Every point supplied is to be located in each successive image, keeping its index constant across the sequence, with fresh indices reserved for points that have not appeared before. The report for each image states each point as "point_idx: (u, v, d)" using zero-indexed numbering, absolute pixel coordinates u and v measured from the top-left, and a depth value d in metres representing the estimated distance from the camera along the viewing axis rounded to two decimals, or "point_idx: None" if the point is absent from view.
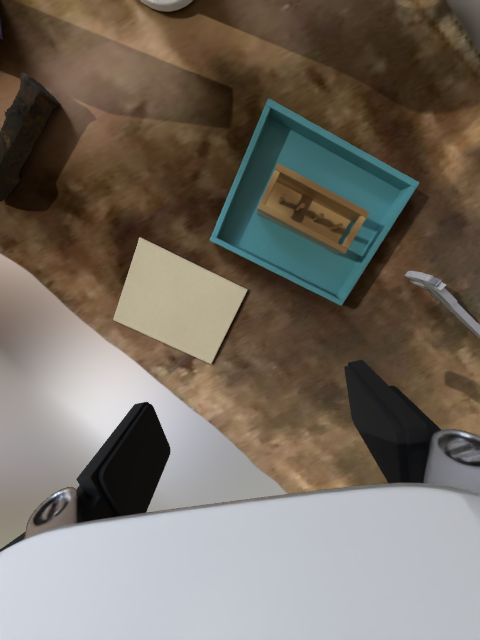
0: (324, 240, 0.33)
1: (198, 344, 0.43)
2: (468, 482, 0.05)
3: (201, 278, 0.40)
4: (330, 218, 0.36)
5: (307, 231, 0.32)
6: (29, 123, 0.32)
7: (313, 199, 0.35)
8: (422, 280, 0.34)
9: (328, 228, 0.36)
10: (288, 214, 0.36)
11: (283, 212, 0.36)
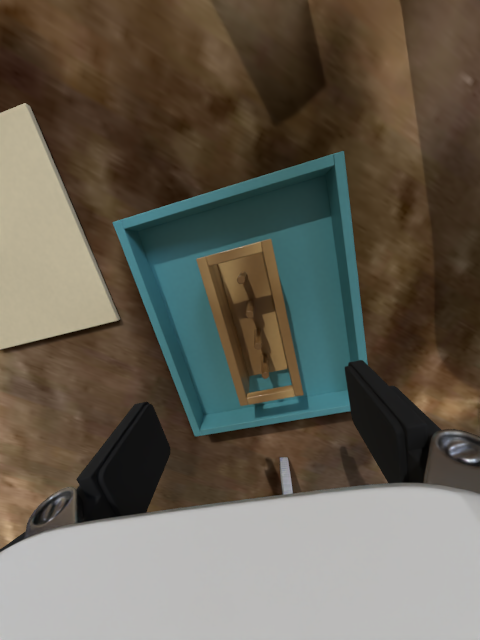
0: (233, 374, 0.21)
1: None
2: (468, 482, 0.05)
3: (71, 250, 0.23)
4: (272, 346, 0.25)
5: (225, 346, 0.20)
6: None
7: (275, 312, 0.23)
8: (283, 490, 0.26)
9: (261, 353, 0.25)
10: (238, 296, 0.23)
11: (235, 289, 0.23)
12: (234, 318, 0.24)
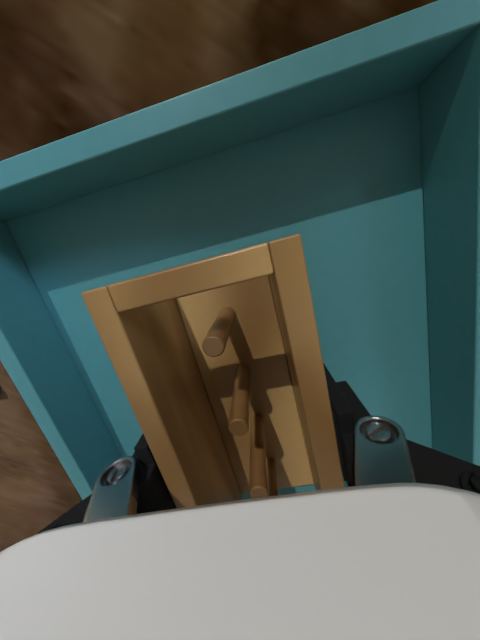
0: None
1: None
2: (385, 459, 0.06)
3: None
4: (286, 447, 0.13)
5: (179, 500, 0.08)
6: None
7: (294, 391, 0.11)
8: None
9: None
10: (217, 356, 0.11)
11: None
12: (211, 396, 0.12)
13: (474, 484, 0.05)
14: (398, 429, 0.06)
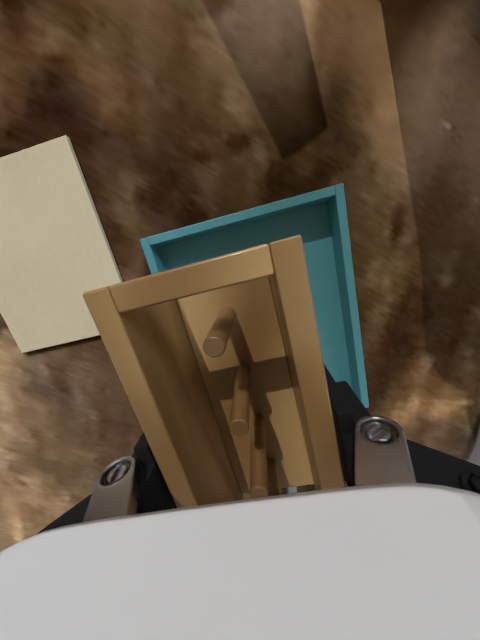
0: None
1: (26, 321, 0.28)
2: (385, 459, 0.06)
3: (98, 262, 0.26)
4: (286, 447, 0.13)
5: (180, 500, 0.08)
6: None
7: (294, 391, 0.11)
8: None
9: None
10: (217, 356, 0.11)
11: None
12: (211, 396, 0.12)
13: (474, 484, 0.05)
14: (398, 429, 0.06)
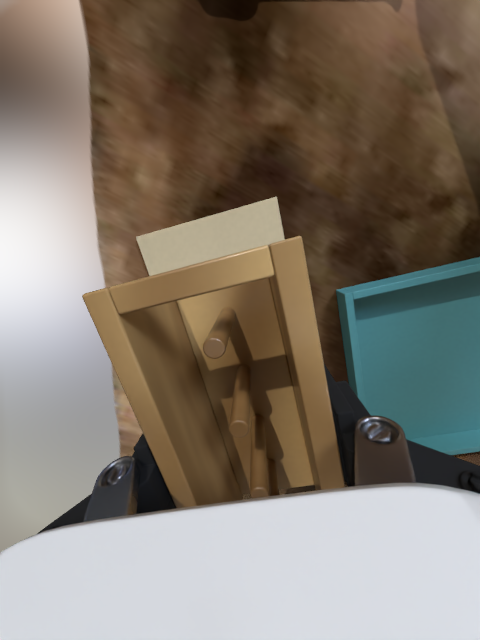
0: None
1: None
2: (385, 459, 0.06)
3: None
4: (286, 447, 0.13)
5: (180, 501, 0.08)
6: None
7: (294, 392, 0.11)
8: None
9: None
10: None
11: None
12: (211, 397, 0.12)
13: (475, 484, 0.05)
14: (398, 429, 0.06)
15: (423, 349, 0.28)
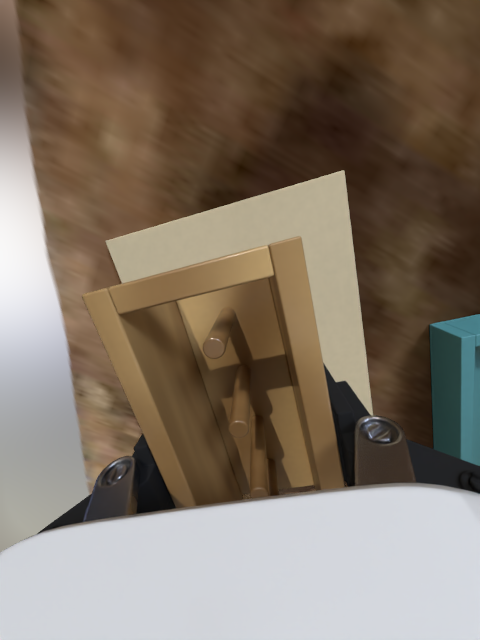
0: None
1: None
2: (385, 459, 0.06)
3: (342, 355, 0.17)
4: (286, 447, 0.13)
5: (180, 501, 0.08)
6: None
7: (294, 392, 0.11)
8: None
9: None
10: (217, 357, 0.11)
11: None
12: (211, 397, 0.12)
13: (475, 483, 0.05)
14: (397, 429, 0.06)
15: None
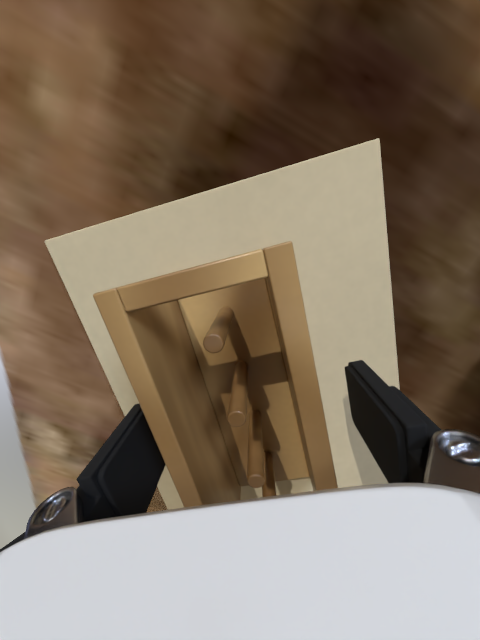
0: None
1: None
2: (468, 482, 0.05)
3: None
4: (282, 441, 0.13)
5: (182, 487, 0.09)
6: None
7: None
8: None
9: None
10: (217, 354, 0.12)
11: None
12: (211, 392, 0.13)
13: None
14: None
15: None
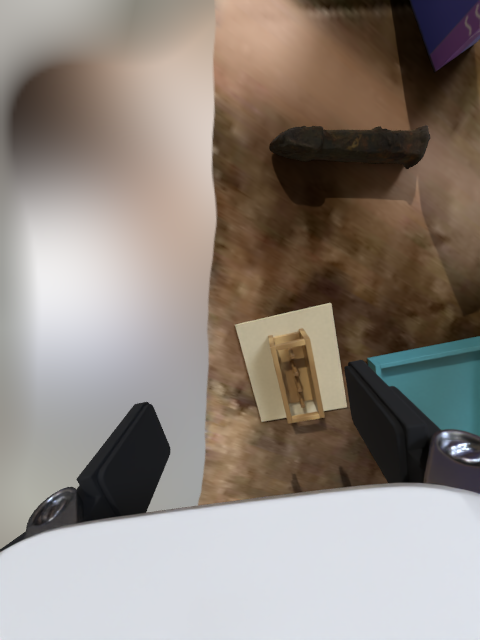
0: (285, 405, 0.37)
1: (271, 403, 0.43)
2: (468, 482, 0.05)
3: (331, 370, 0.40)
4: (304, 386, 0.41)
5: (282, 391, 0.36)
6: (382, 156, 0.29)
7: (307, 368, 0.39)
8: None
9: (296, 390, 0.41)
10: (284, 358, 0.40)
11: (283, 354, 0.39)
12: (281, 370, 0.40)
13: None
14: None
15: (426, 396, 0.41)
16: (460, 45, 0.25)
